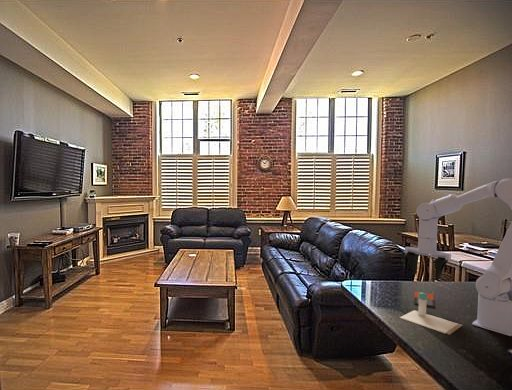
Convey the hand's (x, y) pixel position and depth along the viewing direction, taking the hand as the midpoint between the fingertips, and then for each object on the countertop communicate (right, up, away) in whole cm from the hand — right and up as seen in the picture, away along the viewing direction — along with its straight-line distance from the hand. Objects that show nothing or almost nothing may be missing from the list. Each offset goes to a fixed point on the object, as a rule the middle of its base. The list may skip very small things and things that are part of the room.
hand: (425, 276), depth 113 cm
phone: (+2, -11, +5) cm, 12 cm away
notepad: (-6, -10, -15) cm, 19 cm away
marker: (-7, -10, -10) cm, 16 cm away
